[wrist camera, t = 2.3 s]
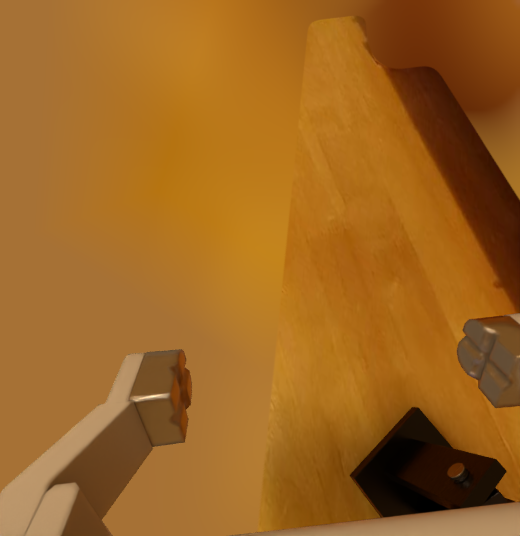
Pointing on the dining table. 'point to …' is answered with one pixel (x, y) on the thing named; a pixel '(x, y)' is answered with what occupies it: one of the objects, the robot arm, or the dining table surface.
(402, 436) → the bracket
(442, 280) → the dining table surface
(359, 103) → the dining table surface
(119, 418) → the robot arm
